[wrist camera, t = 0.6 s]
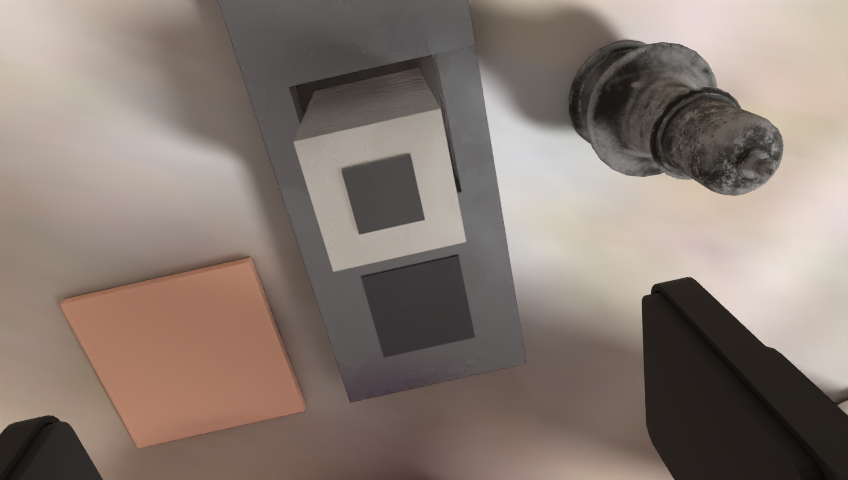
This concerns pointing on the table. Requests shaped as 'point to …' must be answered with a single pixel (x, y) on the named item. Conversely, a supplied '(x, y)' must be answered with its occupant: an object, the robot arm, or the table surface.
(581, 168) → the table surface
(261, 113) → the gray compartment tray
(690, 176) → the dark stone finial
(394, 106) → the grey tall block
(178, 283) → the tile
